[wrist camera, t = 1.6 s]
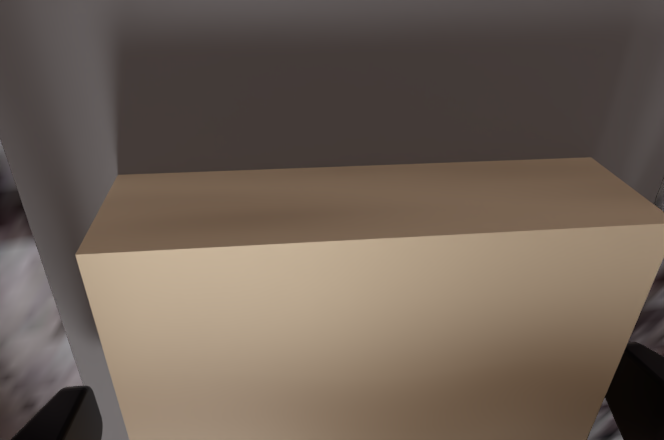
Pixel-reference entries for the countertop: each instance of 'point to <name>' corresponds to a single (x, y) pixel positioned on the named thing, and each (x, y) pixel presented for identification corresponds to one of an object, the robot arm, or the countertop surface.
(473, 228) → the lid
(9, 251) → the countertop surface
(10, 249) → the countertop surface
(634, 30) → the mat
